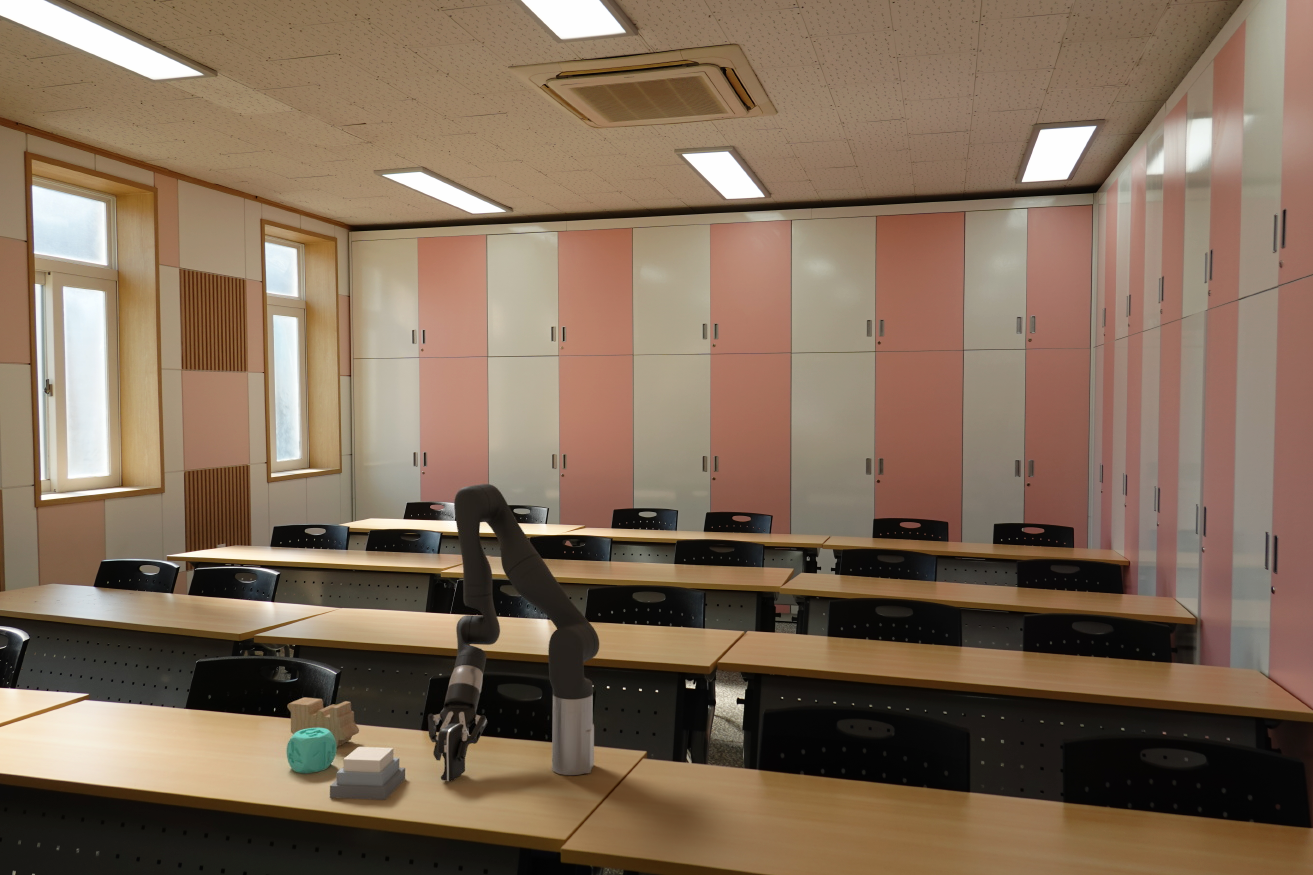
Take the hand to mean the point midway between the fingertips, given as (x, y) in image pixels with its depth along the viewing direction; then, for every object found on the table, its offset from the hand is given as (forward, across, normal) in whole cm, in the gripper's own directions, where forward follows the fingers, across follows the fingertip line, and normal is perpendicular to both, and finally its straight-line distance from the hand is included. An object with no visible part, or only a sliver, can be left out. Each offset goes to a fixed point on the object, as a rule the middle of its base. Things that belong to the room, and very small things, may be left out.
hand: (448, 758), depth 203 cm
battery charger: (+2, 0, +5) cm, 5 cm away
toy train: (-12, -39, +20) cm, 46 cm away
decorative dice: (0, -34, +8) cm, 35 cm away
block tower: (+7, -16, 0) cm, 18 cm away
